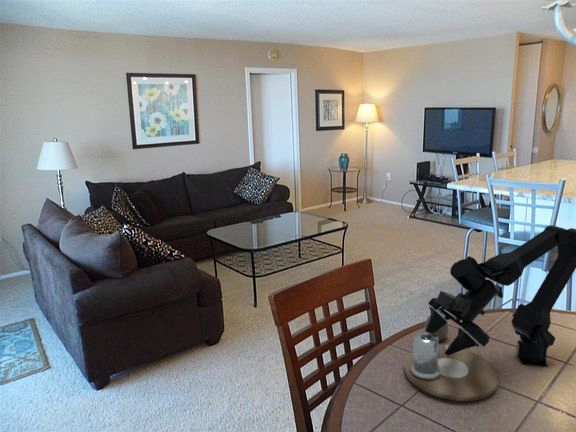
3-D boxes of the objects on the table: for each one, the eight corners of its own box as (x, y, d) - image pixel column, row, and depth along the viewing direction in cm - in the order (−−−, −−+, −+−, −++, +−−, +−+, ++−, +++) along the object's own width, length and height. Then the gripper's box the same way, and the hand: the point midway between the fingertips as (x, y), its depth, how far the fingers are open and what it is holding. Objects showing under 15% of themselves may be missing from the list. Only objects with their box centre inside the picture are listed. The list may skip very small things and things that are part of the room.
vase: (444, 332, 140) (446, 307, 138) (450, 344, 133) (451, 317, 131) (422, 332, 141) (423, 306, 139) (426, 343, 134) (427, 316, 132)
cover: (439, 366, 117) (440, 331, 115) (441, 382, 111) (441, 346, 108) (411, 363, 119) (411, 329, 117) (411, 379, 113) (411, 343, 110)
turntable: (489, 357, 125) (490, 349, 124) (505, 410, 103) (506, 400, 103) (405, 348, 131) (405, 341, 130) (403, 396, 110) (403, 387, 109)
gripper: (436, 269, 120) (397, 312, 120) (482, 295, 102) (437, 346, 102) (459, 292, 124) (422, 334, 124) (508, 322, 106) (465, 371, 106)
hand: (435, 345), depth 114 cm, fingers open, 9 cm apart
